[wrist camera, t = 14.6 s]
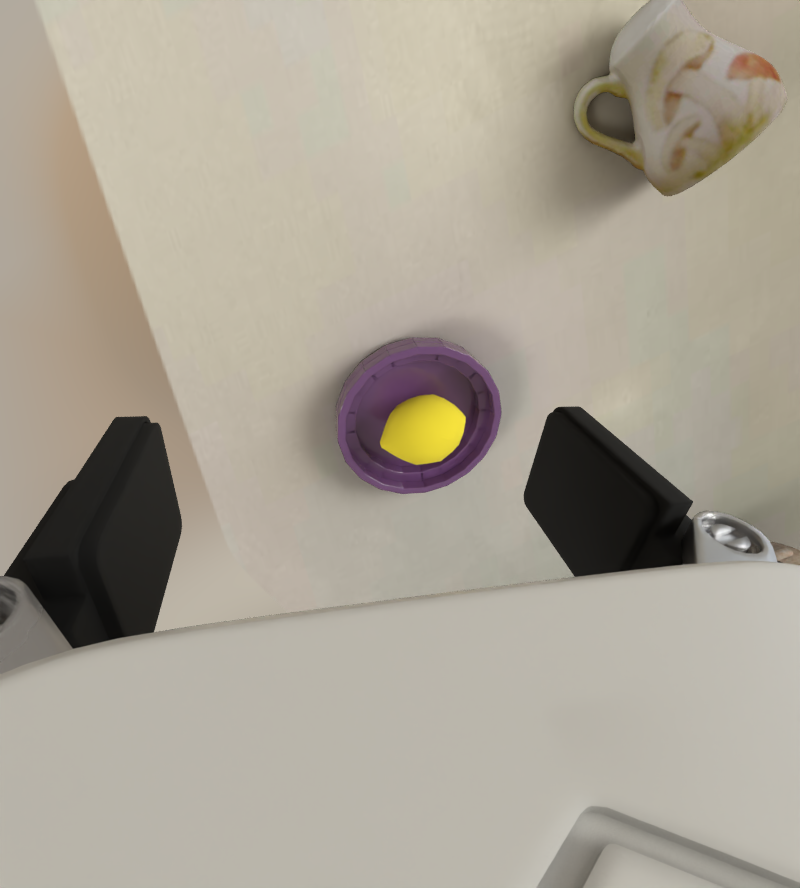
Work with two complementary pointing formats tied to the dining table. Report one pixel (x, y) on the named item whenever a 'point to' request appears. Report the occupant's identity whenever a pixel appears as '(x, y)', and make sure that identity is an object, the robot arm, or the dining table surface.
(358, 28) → the dining table surface
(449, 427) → the lemon
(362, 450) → the dish
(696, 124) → the mug
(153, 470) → the robot arm
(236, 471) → the dining table surface
